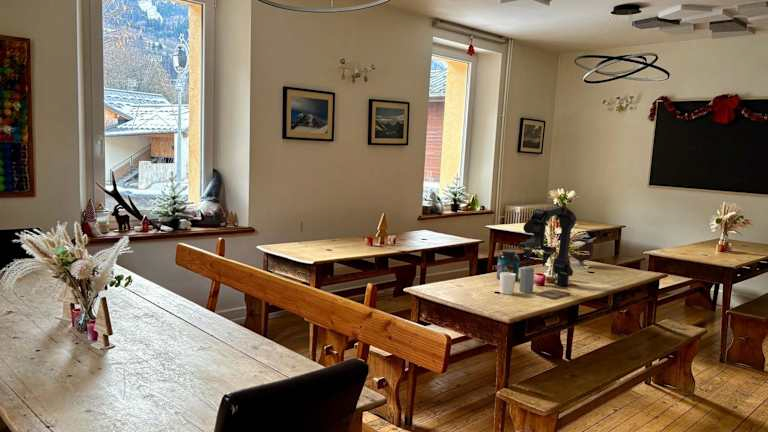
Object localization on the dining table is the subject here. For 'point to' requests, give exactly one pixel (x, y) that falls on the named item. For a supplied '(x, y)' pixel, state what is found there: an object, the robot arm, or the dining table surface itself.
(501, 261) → the container
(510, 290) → the white cup
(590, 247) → the mate gourd
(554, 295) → the walnut board
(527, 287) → the canister
